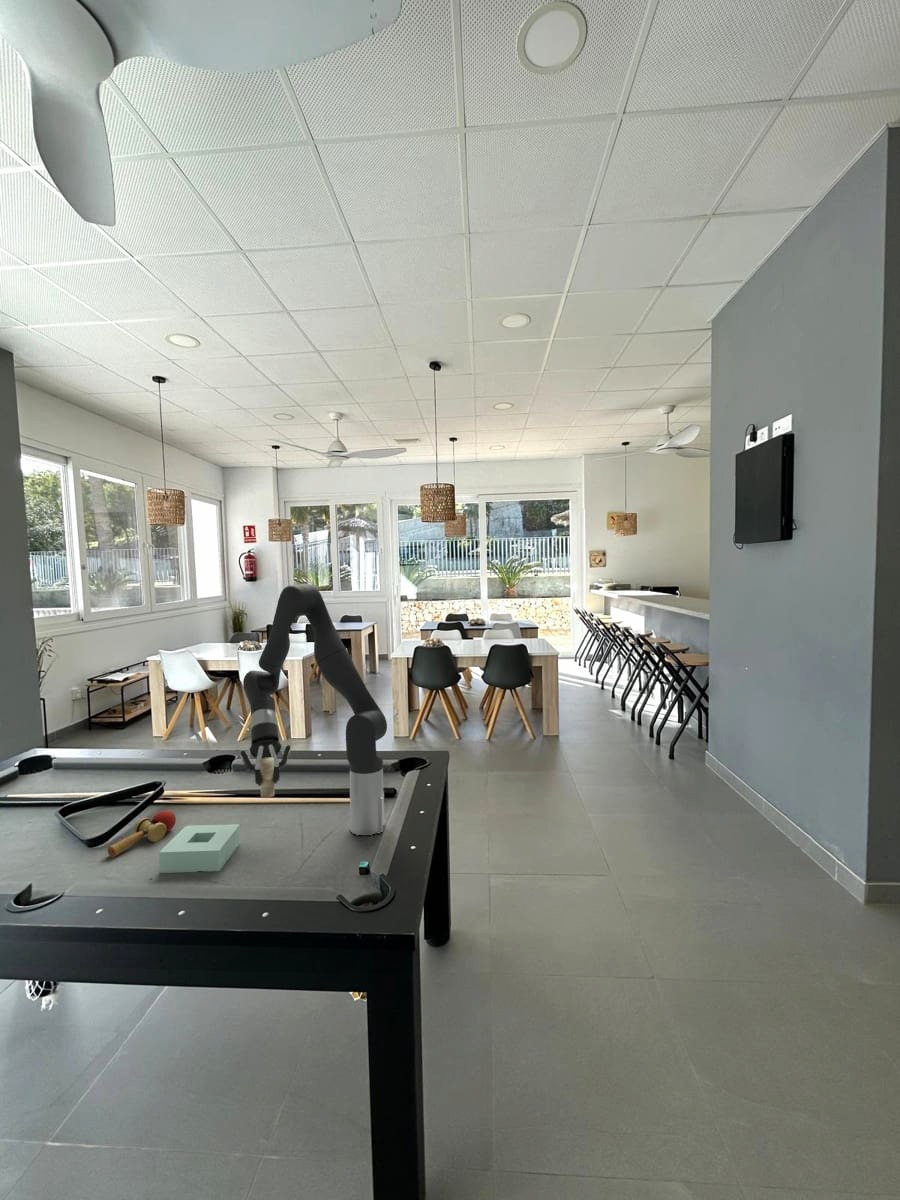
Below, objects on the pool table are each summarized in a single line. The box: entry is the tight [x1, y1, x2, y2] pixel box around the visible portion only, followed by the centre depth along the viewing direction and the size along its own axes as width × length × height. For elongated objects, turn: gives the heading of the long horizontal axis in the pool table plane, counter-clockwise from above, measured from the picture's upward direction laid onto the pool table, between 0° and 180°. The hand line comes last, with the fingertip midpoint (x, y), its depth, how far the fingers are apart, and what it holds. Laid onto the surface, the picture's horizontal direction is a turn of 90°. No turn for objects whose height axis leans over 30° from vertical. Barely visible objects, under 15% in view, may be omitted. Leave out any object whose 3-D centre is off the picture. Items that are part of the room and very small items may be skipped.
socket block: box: [158, 824, 241, 874], centre depth 131 cm, size 14×14×5 cm
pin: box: [260, 757, 275, 799], centre depth 142 cm, size 4×4×10 cm
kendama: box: [107, 809, 177, 858], centre depth 139 cm, size 8×6×18 cm
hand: (267, 783), depth 140 cm, fingers closed on pin, 3 cm apart
